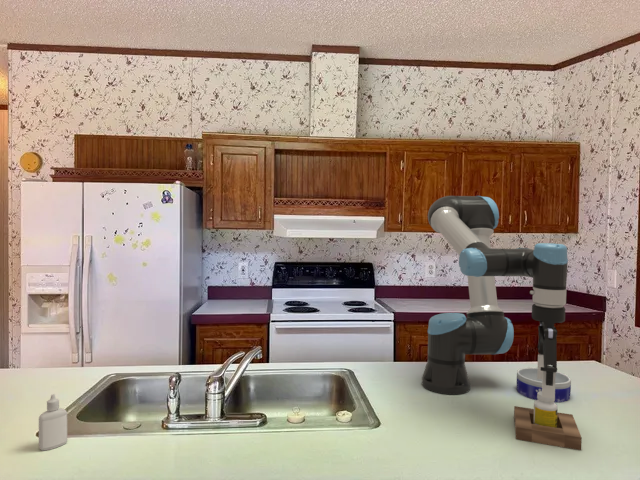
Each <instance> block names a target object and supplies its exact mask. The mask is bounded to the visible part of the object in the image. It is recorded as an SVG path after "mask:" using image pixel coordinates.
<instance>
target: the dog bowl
mask: <svg viewBox="0 0 640 480" xmlns="http://www.w3.org/2000/svg"><path fill="white" fill-rule="evenodd" d="M537 371H538V367H522V368H519V369H518V370H516V391H517V392H518V393H519V394H520V395H521V396H523V397H525V398H528V399H531V400H534V401H536V400H538V398H537V393H538V392H539V391H542V379H537ZM571 389H572V379H571V377H569V375H567V374H565V373H563V372H560V371H557V372H556V378H555V401H554V403H555V404H556V403H557V404H558V403H564V402H567V401H569V400H570V399H571V391H572V390H571Z"/></svg>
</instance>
